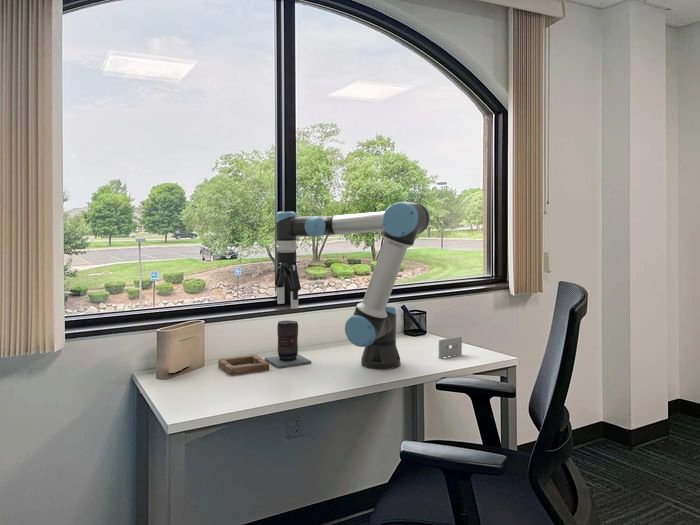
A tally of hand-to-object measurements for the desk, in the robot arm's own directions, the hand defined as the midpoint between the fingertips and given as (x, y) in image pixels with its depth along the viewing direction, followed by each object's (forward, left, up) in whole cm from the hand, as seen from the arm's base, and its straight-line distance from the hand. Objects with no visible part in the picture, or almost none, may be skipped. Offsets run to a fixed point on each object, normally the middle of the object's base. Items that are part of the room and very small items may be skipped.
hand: (287, 305), depth 218 cm
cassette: (-25, -61, -23) cm, 69 cm away
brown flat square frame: (0, +18, -22) cm, 29 cm away
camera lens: (0, 0, -22) cm, 22 cm away
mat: (0, 0, -22) cm, 22 cm away
